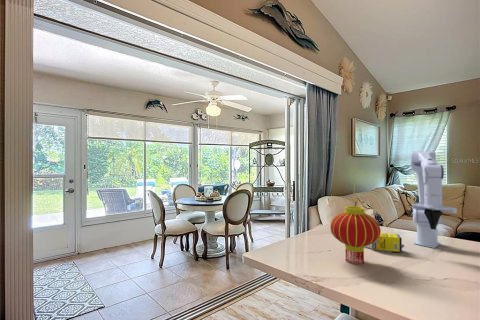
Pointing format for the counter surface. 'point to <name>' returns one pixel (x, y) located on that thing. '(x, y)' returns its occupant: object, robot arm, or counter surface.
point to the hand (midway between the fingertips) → (433, 228)
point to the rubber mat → (379, 250)
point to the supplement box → (388, 242)
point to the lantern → (355, 231)
